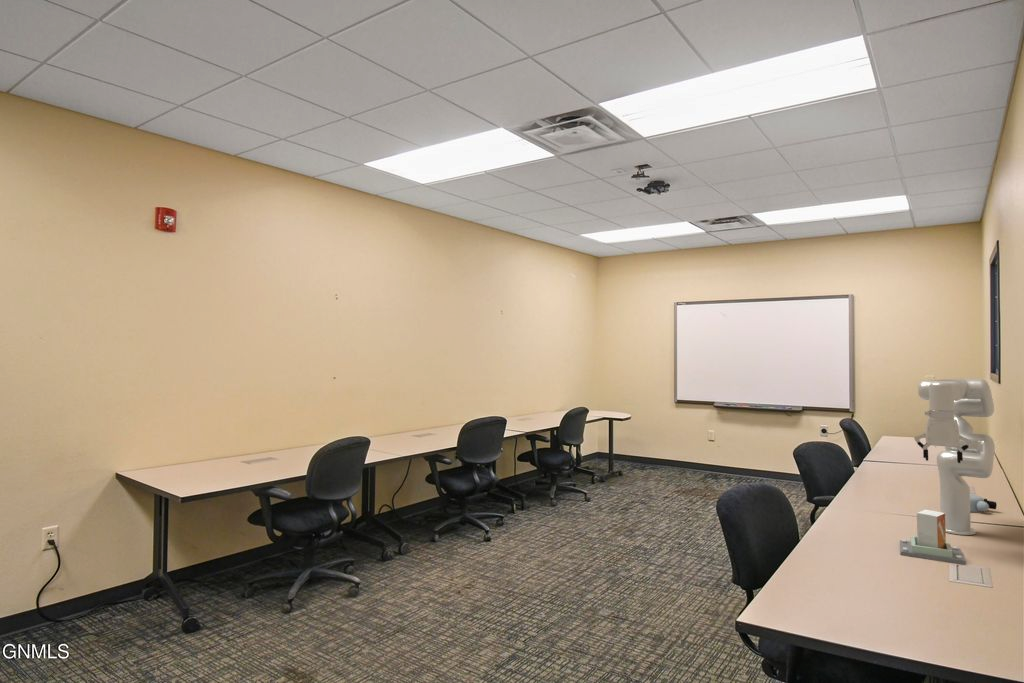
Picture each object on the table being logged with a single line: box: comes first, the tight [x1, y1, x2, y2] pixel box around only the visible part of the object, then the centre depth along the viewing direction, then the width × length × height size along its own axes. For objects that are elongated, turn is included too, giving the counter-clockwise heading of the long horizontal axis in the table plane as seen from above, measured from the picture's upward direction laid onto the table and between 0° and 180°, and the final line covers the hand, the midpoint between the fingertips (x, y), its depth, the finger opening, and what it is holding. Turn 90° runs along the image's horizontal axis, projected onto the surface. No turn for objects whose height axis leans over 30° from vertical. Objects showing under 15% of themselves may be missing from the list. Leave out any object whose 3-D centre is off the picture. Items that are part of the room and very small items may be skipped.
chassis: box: [899, 535, 966, 565], centre depth 207 cm, size 15×18×4 cm
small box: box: [916, 509, 947, 549], centre depth 207 cm, size 8×6×13 cm
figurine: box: [970, 492, 997, 513], centre depth 267 cm, size 17×8×20 cm
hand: (942, 461), depth 219 cm, fingers open, 9 cm apart
